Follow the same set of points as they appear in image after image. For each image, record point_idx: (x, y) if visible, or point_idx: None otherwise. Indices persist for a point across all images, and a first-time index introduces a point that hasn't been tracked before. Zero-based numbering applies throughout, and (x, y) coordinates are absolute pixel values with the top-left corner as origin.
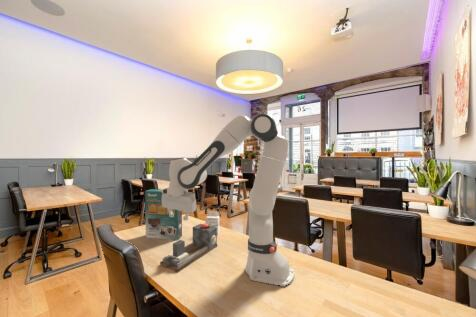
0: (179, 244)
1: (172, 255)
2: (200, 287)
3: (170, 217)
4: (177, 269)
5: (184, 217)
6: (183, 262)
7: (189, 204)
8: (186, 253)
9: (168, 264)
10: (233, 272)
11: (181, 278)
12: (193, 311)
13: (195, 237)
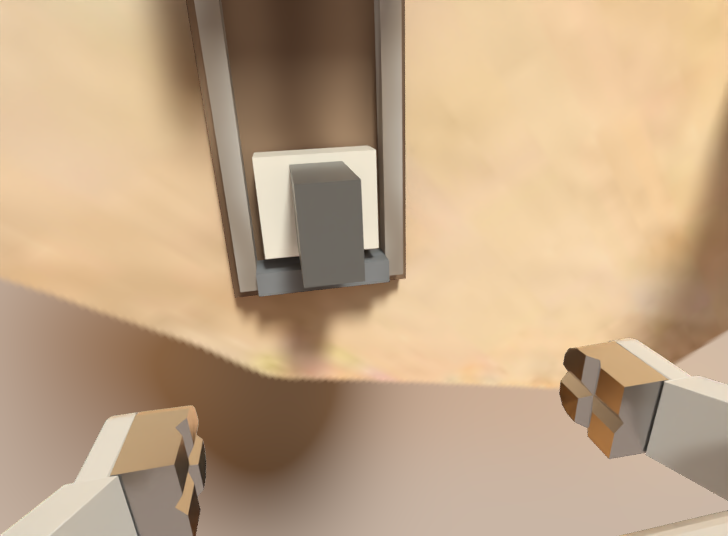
0: (361, 250)
1: (293, 249)
2: (583, 289)
3: None
4: (398, 277)
5: (633, 443)
6: (400, 229)
7: None
8: (363, 160)
9: None
10: (691, 78)
11: (458, 296)
12: None
13: None
